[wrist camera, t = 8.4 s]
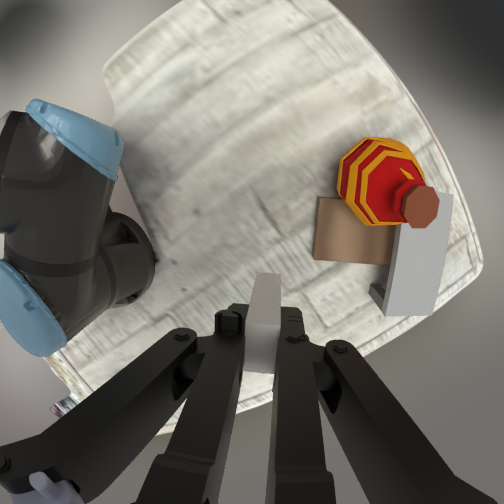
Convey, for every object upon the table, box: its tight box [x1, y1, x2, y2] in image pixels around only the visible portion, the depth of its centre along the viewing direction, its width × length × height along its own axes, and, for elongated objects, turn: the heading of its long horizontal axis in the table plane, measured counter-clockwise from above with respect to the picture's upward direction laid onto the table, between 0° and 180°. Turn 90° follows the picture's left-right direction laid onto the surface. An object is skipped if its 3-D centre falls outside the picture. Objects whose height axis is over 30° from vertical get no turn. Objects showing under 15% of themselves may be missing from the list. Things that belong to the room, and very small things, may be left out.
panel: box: [312, 197, 396, 266], centre depth 35 cm, size 14×8×3 cm, turn 87°
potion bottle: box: [337, 137, 440, 229], centre depth 26 cm, size 10×10×15 cm
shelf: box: [369, 191, 453, 316], centre depth 32 cm, size 8×16×8 cm, turn 178°
